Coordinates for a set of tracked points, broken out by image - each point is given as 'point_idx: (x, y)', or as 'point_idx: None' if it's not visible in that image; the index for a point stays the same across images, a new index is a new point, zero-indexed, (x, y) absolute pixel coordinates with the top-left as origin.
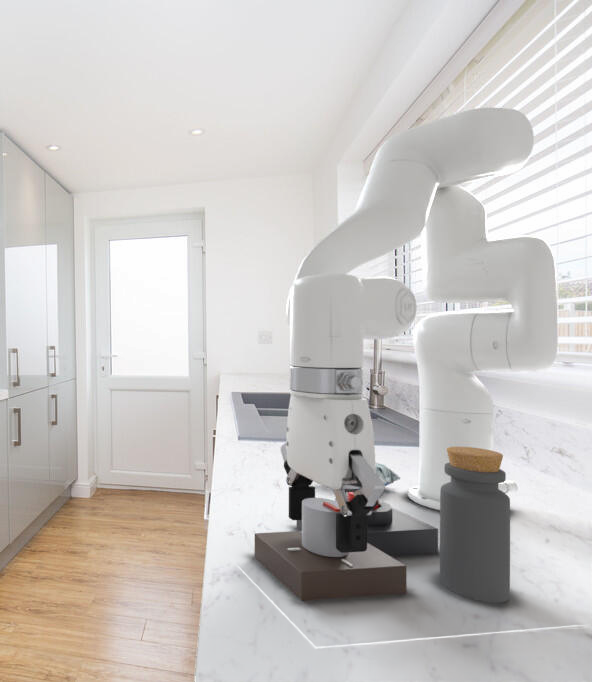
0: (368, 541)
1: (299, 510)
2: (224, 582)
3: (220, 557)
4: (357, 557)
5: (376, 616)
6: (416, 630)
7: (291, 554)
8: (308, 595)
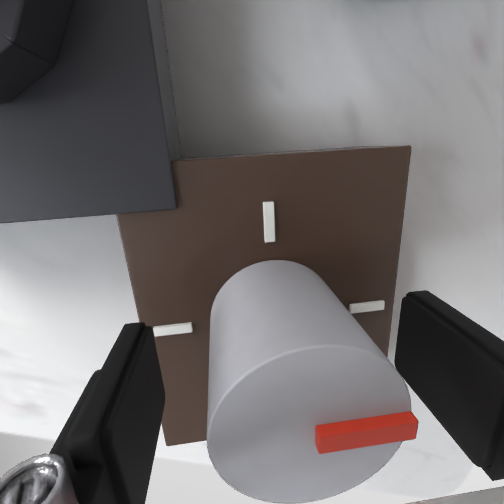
0: (165, 97)
1: (156, 405)
2: None
3: (175, 450)
4: (339, 259)
5: (421, 270)
6: (473, 227)
7: None
8: None
